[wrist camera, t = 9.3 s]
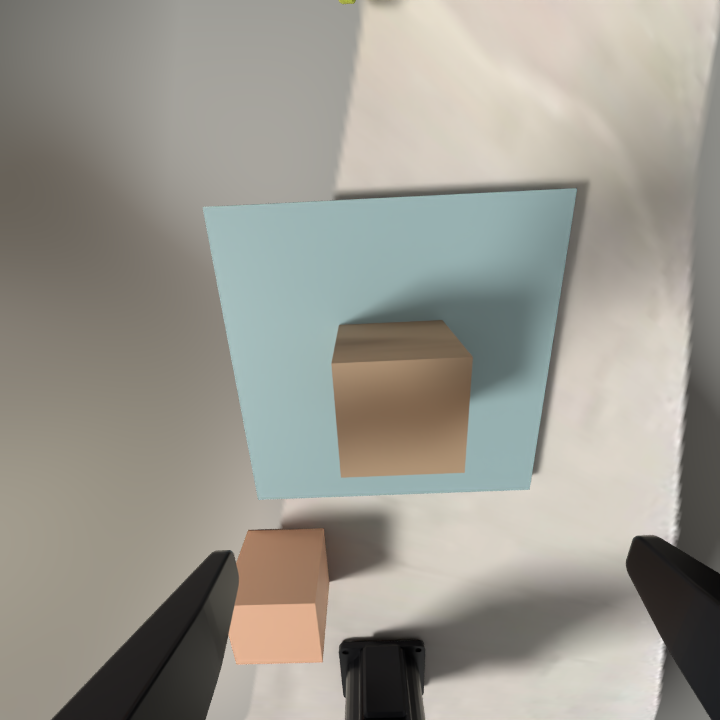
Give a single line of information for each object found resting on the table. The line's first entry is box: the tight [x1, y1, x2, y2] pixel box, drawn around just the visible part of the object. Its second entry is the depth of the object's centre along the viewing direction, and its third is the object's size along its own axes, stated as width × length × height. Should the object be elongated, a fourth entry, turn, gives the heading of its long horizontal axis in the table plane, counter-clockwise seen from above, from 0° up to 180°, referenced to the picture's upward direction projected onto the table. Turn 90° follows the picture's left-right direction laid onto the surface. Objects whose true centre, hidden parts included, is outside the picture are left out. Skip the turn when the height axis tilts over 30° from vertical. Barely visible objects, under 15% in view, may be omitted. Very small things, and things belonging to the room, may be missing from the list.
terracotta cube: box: [228, 528, 329, 664], centre depth 22 cm, size 5×5×5 cm
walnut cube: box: [331, 320, 473, 478], centre depth 16 cm, size 5×5×5 cm
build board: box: [203, 188, 577, 500], centre depth 19 cm, size 16×16×1 cm
